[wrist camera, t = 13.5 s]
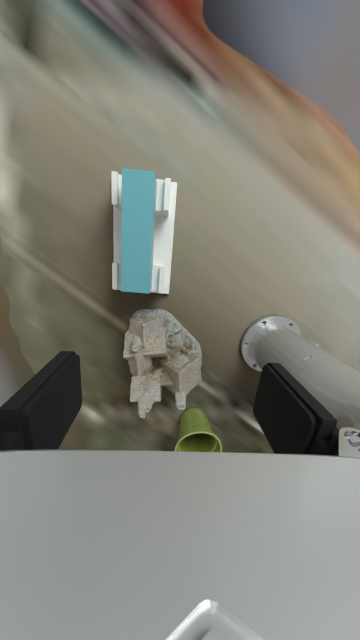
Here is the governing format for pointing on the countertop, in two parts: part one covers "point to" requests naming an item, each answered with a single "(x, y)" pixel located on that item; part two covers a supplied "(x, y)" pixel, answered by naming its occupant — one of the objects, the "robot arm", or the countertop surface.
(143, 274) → the teal rectangular stick
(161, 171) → the countertop surface
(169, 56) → the countertop surface
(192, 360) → the grey irregular blocky piece
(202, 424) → the plant pot
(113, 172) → the display cradle
